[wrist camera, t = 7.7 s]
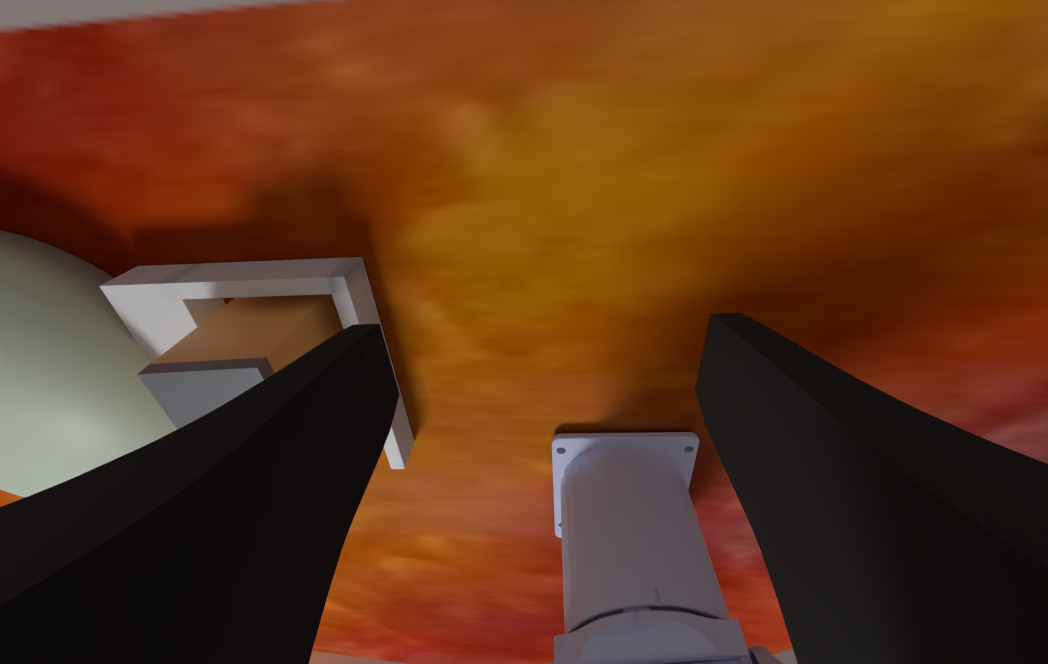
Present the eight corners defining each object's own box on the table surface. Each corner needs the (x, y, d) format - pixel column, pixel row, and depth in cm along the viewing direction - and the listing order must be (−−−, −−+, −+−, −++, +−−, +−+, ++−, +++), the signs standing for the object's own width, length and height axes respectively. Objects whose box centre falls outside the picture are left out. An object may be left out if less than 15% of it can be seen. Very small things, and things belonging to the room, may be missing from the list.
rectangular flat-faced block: (379, 413, 24) (335, 511, 19) (303, 417, 24) (240, 513, 19) (331, 286, 20) (257, 367, 15) (240, 293, 20) (136, 374, 15)
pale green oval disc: (421, 466, 26) (408, 510, 24) (31, 469, 28) (-20, 510, 25) (347, 205, 17) (314, 230, 15) (-212, 233, 19) (-325, 259, 17)
